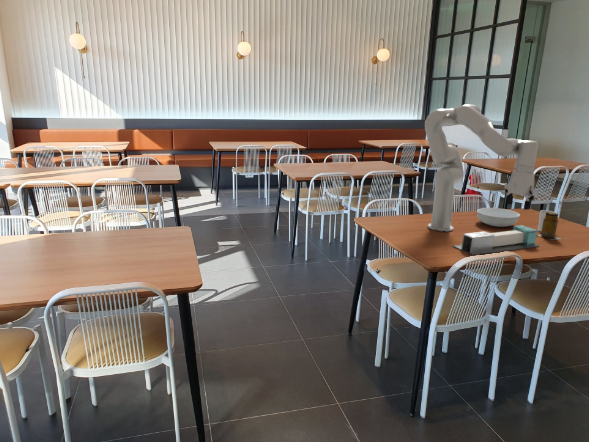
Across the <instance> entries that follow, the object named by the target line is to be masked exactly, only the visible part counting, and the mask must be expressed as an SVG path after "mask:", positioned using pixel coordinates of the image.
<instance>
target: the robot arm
mask: <svg viewBox="0 0 589 442" xmlns="http://www.w3.org/2000/svg"><path fill="white" fill-rule="evenodd" d="M459 125H463V126H464V127H465V128H467V129H469V131H471V132H472V133H474V134H475V136H477V137H478V138H479V140H480V141H481V142H482V143H483V144H484V145H485V146H486V147H487V148H488V149H489V150H491V151H492V152H493V153H495V154H496V155H498V156H500V157H509V156H516V160H515V164H514V165H513V168H514V170H512V172H511V175H510V177H509V181H508V183H506V184H504V186H503V187H504V192H505V194H506V202H505V204H506V205H513V203H514V195H517V196H522V197H524V198H525V201H524V204H523V210H525V211H527V210H530V209H531V207H532V206H531V205H532V202H533V201H534V200H535V199H536V198H537V196H538V195H539V191H537V190H536V189H535V173H534V171H535V165H536V160H537V155H538V149H539V142H538V141H536V140H527V139H526V140H522V139H518V138H511V137H510V138H506V137H504V136H503V135H502V134H500V133H499V132H498V131H497V130H495V128H494V124H493V121H492V120H491V119H489V118H488V117H487V116H485V115H484V114H482V111H481V108H479V106H477V105H476V104H462V105H460V106H458V107H453V108H452V107H451V108H437V109H434V110H432V111H431V112H430V113H429V114H428V115H427V117H426V119H425V121H424V131H425V135H426V137H427V141H428V147H429V149H430V154H431V158H432V161H433V163H434V164H435V165H436V166H437V165H438V166H443V167H441V168H439V169H438V170H437V171H436V173H434V174H435V175H434V195H433V202H432V203H433V207H432V212H431V213H432V215H431V223H428V224H427V227H428V229H430V230H432V231H436V230H437V231H438V232H443V231H445V232H447V233H448V232H452V231H454V226H452V220H453V219H452V217H453V208H454V202H455V201H454V200H455V185H457V184H459V183H461V181H462V180H463V179H464V176H465V173H464V172H465V171H464V168H463V164H462V160H461V157H460V155H461V154H460V152H459V151H458V148H456V147H455V146H454V145H452V144H448V141H447V137H446V133H445V132H444V130H443V127H451V126H452V127H453V126H459ZM437 231H436V232H437Z"/></svg>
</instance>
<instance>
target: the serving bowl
mask: <svg viewBox="0 0 589 442" xmlns="http://www.w3.org/2000/svg"><path fill="white" fill-rule="evenodd" d="M476 215H477V219H478V220H479V221H480V222H481V223H484V224H485V225H488V226H491V227H496V228H497V227H498V228H504V227H509V226H510V227H511V226H514V225H515V224H516V223H517V222H518V221H519V219H520V216H521V214H520V213H518V212H517V211H515V210H511V209H506V208H499V207H498V208H497V207H481V208H478V209H477V210H476Z"/></svg>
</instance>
